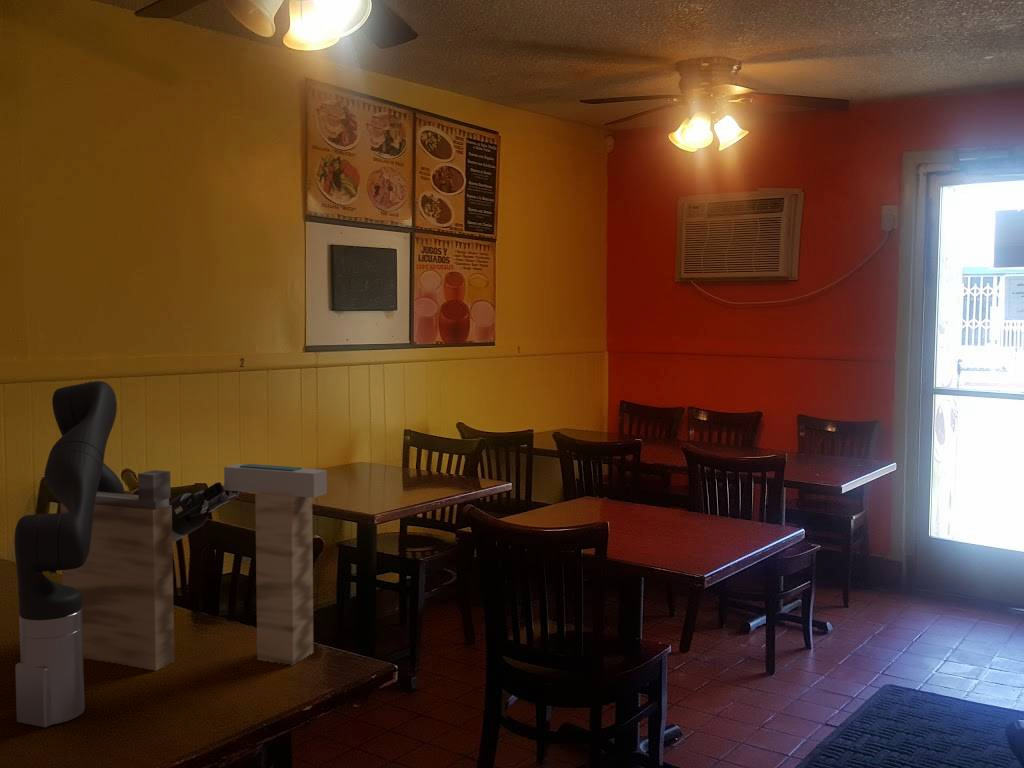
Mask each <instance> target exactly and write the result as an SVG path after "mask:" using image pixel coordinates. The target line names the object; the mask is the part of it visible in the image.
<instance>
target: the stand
mask: <svg viewBox="0 0 1024 768" xmlns="http://www.w3.org/2000/svg"><path fill="white" fill-rule="evenodd" d="M254 494H255V495H254V498H255V502H254V503H255V504H254V505H255V563H256V564H255V566H256V567H255V574H256V576H255V581H256V590H255V591H256V656H257V657H256V660H257V661H261V660H262V662H267V661H269V663H274V662H278V663H277V664H280V663H284V664H283V665H286V664H290V665H289V666H295V665H296V663H297V662H298V663H300V662H302V661H303V660H305V659H306V658H308V657H309V655H310V654H311V655H313V654H314V561H313V560H314V558H313V557H314V555H313V554H314V552H313V550H314V548H313V547H314V545H313V544H314V543H313V533H314V532H313V530H314V529H313V528H314V527H313V498H311V497H299V496H287V495H276V494H264V493H254ZM312 653H313V654H312ZM311 655H310V656H311ZM307 656H308V657H307ZM304 658H305V659H304ZM302 659H303V660H302ZM299 661H300V662H299ZM298 663H297V664H298ZM294 664H295V665H294Z"/></svg>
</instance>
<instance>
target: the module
mask: <svg viewBox="0 0 1024 768" xmlns="http://www.w3.org/2000/svg"><path fill="white" fill-rule="evenodd" d="M327 471H328V470H327V469H316V468H305V467H304V468H302V467H301V466H300V467H299V466H284V465H283V466H282V465H273V464H272V465H270V464H255V463H246V464H245V463H237V464H232V465H228V466H227V465H226V466H224V467H223V472H224V473H223V479H224V480H223V481H224V483H223V484H224V486H223V487H224V490H228V491H231V492H232V491H240V492H243V493H254V494H258V493H264V494H276V495H287V496H299V497H311V498H312V499H313V498H314V499H315V498H318V497H320V496H325V495H327V494H328V491H327V490H328V487H327V486H328V480H327V479H328V475H327V473H328V472H327Z"/></svg>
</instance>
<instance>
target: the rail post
mask: <svg viewBox="0 0 1024 768" xmlns="http://www.w3.org/2000/svg"><path fill="white" fill-rule="evenodd" d="M137 493H138V494H129V493H128V494H126V493H125V494H117V493H106V492H97V494H96V499H95V504H94V512H93V523H92V534H91V543H90V550H89V554H88V557H87V559H86V561H85V563H84V564H83V565H82V566H81V567H79V568H76V569H70V570H61V578H62V579H61V581H62V582H61V584H62V585H65V586H69V587H73V588H75V589H77V590H79V591H80V593H81V595H82V621H83V660H84V659H85V660H90V659H91V661H96V660H97V662H102V661H105V662H104V663H108V662H110V663H109V664H113V663H117V664H116V665H119V664H122V665H121V666H125V665H128V666H127V667H131V666H132V667H133V668H137V667H138V668H140V669H143V668H144V669H145V670H150V671H158V670H160V669H162V668H165V667H166V666H169V665H170V663H171V664H172V663H174V662H175V619H174V618H175V616H174V614H175V613H174V608H175V607H174V566H173V564H174V563H173V560H174V557H173V556H174V555H173V551H174V550H173V548H174V547H173V542H172V505H169V502H170V499H171V496H172V495H171V494H172V491H171V471H170V470H157V469H155V470H148V471H144V472H143V471H142V472H140V473H138V474H137ZM59 506H60V510H59V511H60V513H69V511H68V510H67V508H66V507H65V506H64V505H63V504H62V503H60V502H59Z"/></svg>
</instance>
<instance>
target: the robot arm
mask: <svg viewBox="0 0 1024 768" xmlns="http://www.w3.org/2000/svg"><path fill="white" fill-rule="evenodd" d="M51 401H52V402H51V403H52V404H51V405H52V411H53V416H54V419H55V421H56V426H57V427H58V429H59V432H60V435H61V437H60V438H59V439H58V440H57V441H56V442H55V443H54V445H52V448H51V450H50V452H49V455H48V458H47V461H46V464H45V468H44V474H43V477H44V482H45V485H46V486H47V488H48V491H49V492H50V493H51V494H52V495H53V496H54V498H55V499H56V500H57V501H58V502H59V504H60V503H62V504H63V505H64V506H65V507H66V508H67V510H68V511H69V513H61V512H57V513H55V512H53V513H39V514H38V513H37V514H36V513H35V514H27V515H23V516H21V517H20V519H19V520H18V521H17V524H16V526H15V530H14V542H13V543H14V555H15V557H14V558H15V567H16V577H17V579H16V580H17V596H18V597H17V598H18V619H19V648H20V649H19V651H20V652H19V654H20V662H18V663H16V664H15V668H14V670H15V700H16V701H15V702H16V704H15V705H16V706H15V707H16V722H17V723H21V724H26V725H30V726H35V727H40V728H47V727H50V726H52V725H57V724H61V723H64V722H68V721H71V720H73V719H75V718H77V717H79V716H80V715H82V714H83V713H84V712H85V706H86V705H85V675H84V671H85V670H84V669H85V668H84V658H83V621H82V595H81V593H80V591H79V590H77V589H75V588H73V587H69V586H65V585H62V583H58V582H56V581H53V580H52V579H50V578H48V577H47V576H46V575H45V574H44V573H43V572H55V571H62V570H70V569H76V568H79V567H81V566H82V565H83V564H84V563H85V561H86V559H87V557H88V554H89V550H90V543H91V534H92V523H93V512H94V504H95V499H96V494H97V492H106V493H117V494H126V492H125V488H124V485H123V483H122V481H121V480H120V478H119V477H118V476H117V474H116V473H115V472H114V471H113V470H112V469H111V468H110V467H109V466H108V464H106V463H105V462H104V461H105V453H106V447H107V444H108V440H109V437H110V435H111V432H112V429H113V427H114V423H115V420H116V417H117V410H118V406H117V405H118V403H117V402H118V401H117V396H116V394H115V390H114V389H113V388H112V386H111V385H110V384H109V383H108V382H105V381H100V380H94V381H89V382H84V383H79V384H74V385H69V386H68V385H67V386H63V387H60V388H57V389H56V390H54V392H53V395H52V400H51ZM243 494H244V492H240V491H228V490H224V486H223V485H222V482H215V483H213V484H212V485H211V486H209V487H207V488H205V489H204V490H199V491H198V492H195V493H194V492H193V493H191V492H183V493H180V495H178V496H176V497H174V498H172V500H169V505H172V543H174V542H177V541H179V540H181V539H182V538H185V537H186V536H188V535H189V534H192V533H193V532H194V531H196V530H198V529H199V528H201V527H203V526H204V525H205V524H206V522H207V520H208V513H210V512H213V511H216V509H217V508H218V507H223V506H224V505H225V504H227V503H230V502H231V501H232V500H234V499H235V498H238V497H239V496H241V495H243Z"/></svg>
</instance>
